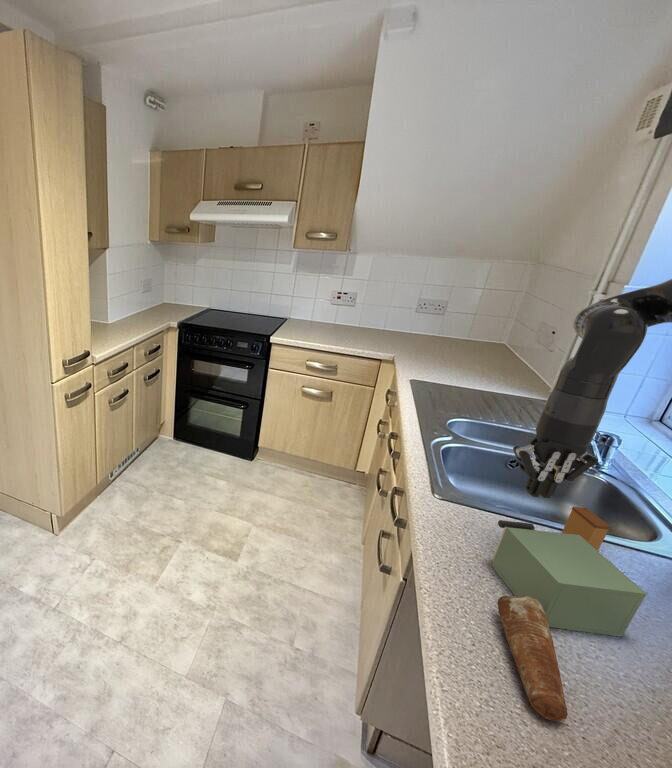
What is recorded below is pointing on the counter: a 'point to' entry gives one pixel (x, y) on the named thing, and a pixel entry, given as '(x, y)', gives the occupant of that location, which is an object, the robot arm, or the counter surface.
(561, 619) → the cabinet
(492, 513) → the counter surface
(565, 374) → the robot arm
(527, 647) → the bread
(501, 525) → the drawer
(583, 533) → the brown block
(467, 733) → the counter surface
